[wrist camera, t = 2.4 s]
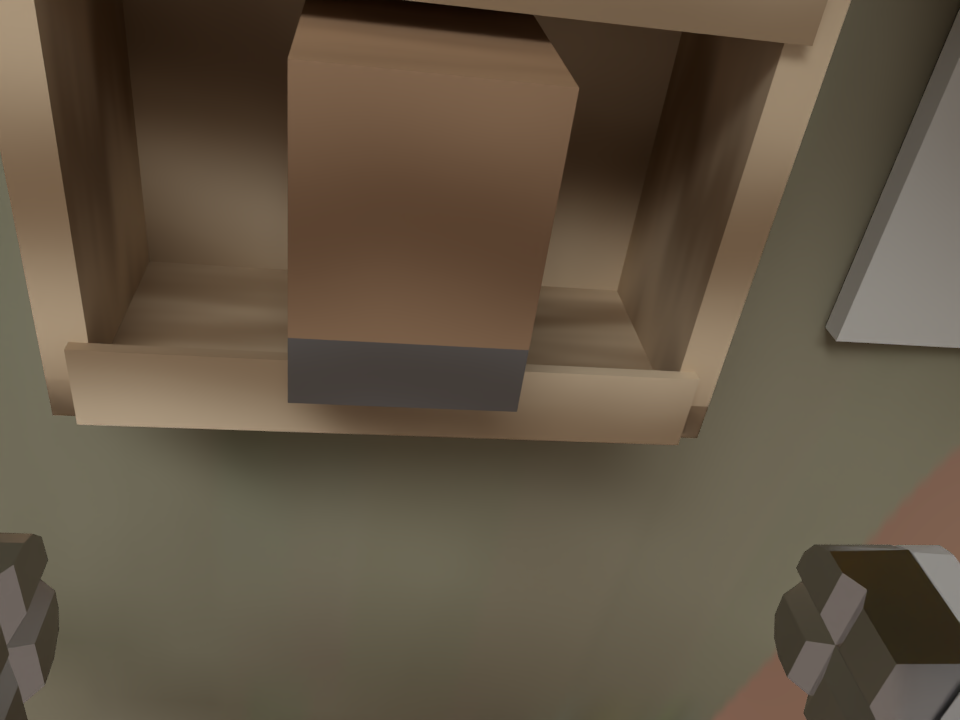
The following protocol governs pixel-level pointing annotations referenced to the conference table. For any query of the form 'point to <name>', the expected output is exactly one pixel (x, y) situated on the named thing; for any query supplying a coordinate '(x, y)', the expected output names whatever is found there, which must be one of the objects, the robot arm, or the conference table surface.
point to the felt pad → (913, 231)
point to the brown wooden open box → (264, 209)
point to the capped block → (419, 201)
